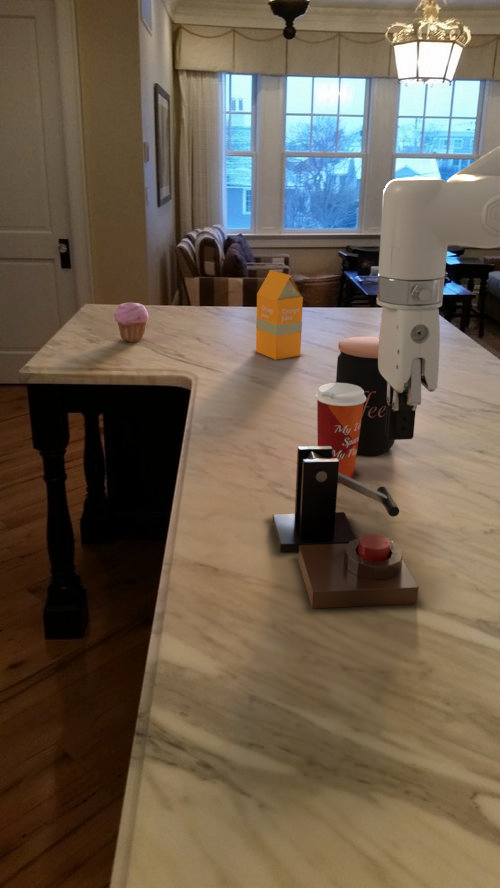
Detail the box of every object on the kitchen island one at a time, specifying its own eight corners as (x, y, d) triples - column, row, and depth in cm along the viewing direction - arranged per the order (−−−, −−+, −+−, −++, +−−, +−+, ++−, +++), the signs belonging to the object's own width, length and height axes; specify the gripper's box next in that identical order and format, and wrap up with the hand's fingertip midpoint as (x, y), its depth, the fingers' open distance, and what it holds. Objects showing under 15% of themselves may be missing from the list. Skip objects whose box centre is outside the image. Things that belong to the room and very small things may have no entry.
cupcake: (109, 339, 187) (107, 301, 184) (136, 334, 193) (135, 297, 189) (128, 346, 181) (126, 307, 178) (155, 340, 187) (154, 303, 183)
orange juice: (280, 347, 182) (282, 268, 174) (300, 355, 175) (304, 274, 168) (255, 351, 178) (256, 271, 170) (275, 359, 171) (277, 276, 164)
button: (384, 545, 84) (385, 532, 84) (392, 561, 81) (394, 548, 80) (354, 546, 84) (355, 534, 83) (362, 563, 81) (363, 549, 80)
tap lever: (381, 500, 96) (390, 486, 95) (393, 521, 90) (403, 506, 90) (299, 460, 92) (308, 445, 92) (307, 480, 87) (317, 464, 86)
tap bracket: (343, 519, 98) (349, 440, 93) (357, 549, 90) (364, 465, 86) (272, 521, 97) (274, 442, 92) (280, 552, 89) (283, 467, 85)
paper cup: (341, 488, 106) (347, 400, 101) (301, 473, 111) (305, 389, 106) (370, 472, 112) (377, 388, 106) (331, 459, 117) (336, 378, 111)
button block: (392, 556, 89) (395, 529, 87) (416, 603, 80) (420, 573, 78) (298, 560, 88) (299, 532, 86) (312, 608, 78) (313, 578, 77)
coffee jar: (320, 447, 121) (326, 345, 114) (349, 429, 129) (356, 333, 122) (377, 462, 115) (387, 356, 108) (403, 442, 124) (414, 342, 117)
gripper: (465, 303, 75) (448, 459, 82) (421, 279, 89) (410, 415, 96) (396, 305, 75) (385, 462, 82) (362, 281, 88) (356, 417, 96)
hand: (398, 436), depth 89 cm, fingers closed
